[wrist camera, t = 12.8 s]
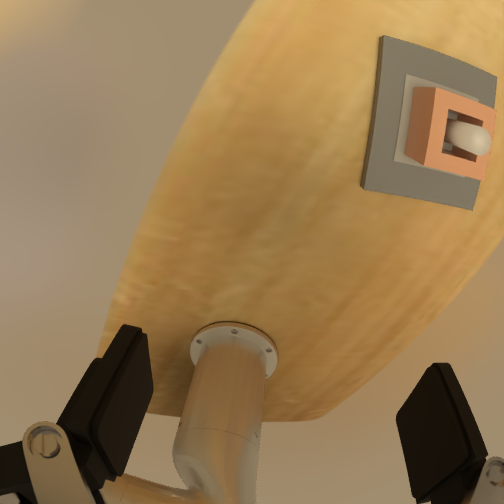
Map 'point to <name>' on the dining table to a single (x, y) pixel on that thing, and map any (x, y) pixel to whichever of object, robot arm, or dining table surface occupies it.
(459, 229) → the dining table surface
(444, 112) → the collar
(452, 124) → the post board
